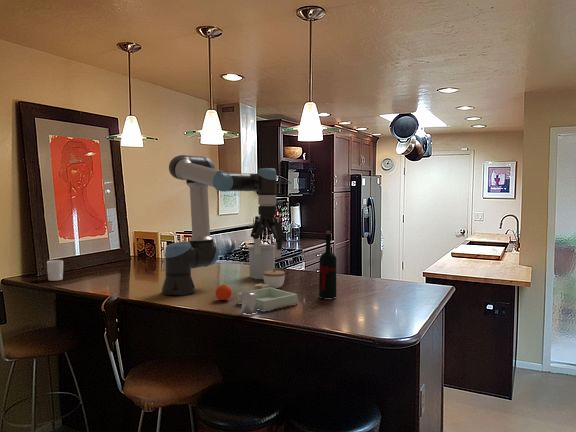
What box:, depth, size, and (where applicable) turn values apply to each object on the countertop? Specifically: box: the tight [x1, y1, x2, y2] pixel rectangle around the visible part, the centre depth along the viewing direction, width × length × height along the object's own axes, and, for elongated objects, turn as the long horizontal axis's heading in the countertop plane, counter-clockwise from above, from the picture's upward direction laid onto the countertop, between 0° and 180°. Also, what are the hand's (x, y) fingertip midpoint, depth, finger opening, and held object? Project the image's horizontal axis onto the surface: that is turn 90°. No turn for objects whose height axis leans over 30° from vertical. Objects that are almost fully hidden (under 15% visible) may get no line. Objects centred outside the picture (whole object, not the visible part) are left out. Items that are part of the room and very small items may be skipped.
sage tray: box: [237, 287, 298, 310], centre depth 192 cm, size 18×18×4 cm
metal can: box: [241, 291, 258, 314], centre depth 178 cm, size 6×6×8 cm
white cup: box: [46, 259, 64, 282], centre depth 242 cm, size 8×8×10 cm
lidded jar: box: [263, 268, 286, 289], centre depth 224 cm, size 11×11×9 cm
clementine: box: [215, 284, 233, 301], centre depth 199 cm, size 8×7×7 cm
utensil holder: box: [247, 243, 276, 280], centre depth 251 cm, size 15×15×18 cm
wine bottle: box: [318, 230, 337, 298], centre depth 202 cm, size 8×10×30 cm
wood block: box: [253, 283, 269, 290], centre depth 208 cm, size 5×5×5 cm
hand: (267, 255), depth 191 cm, fingers open, 13 cm apart
